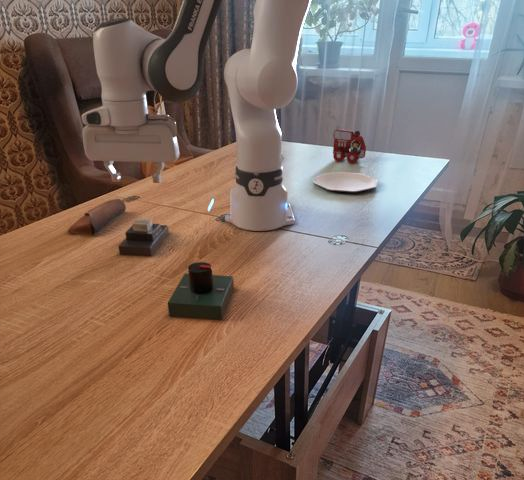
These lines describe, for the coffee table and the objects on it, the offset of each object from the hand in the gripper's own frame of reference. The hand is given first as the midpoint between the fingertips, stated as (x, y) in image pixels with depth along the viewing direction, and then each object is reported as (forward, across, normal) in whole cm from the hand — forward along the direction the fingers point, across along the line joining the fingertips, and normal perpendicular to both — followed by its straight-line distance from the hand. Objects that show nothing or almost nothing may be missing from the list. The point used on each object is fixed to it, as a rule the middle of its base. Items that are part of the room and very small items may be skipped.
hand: (137, 181), depth 108 cm
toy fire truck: (+15, -50, -84) cm, 99 cm away
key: (+12, +1, -1) cm, 12 cm away
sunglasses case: (+15, +18, -13) cm, 26 cm away
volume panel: (+15, -20, +26) cm, 36 cm away
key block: (+15, 0, -1) cm, 15 cm away
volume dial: (+12, -20, +26) cm, 35 cm away
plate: (+15, -49, -53) cm, 74 cm away
